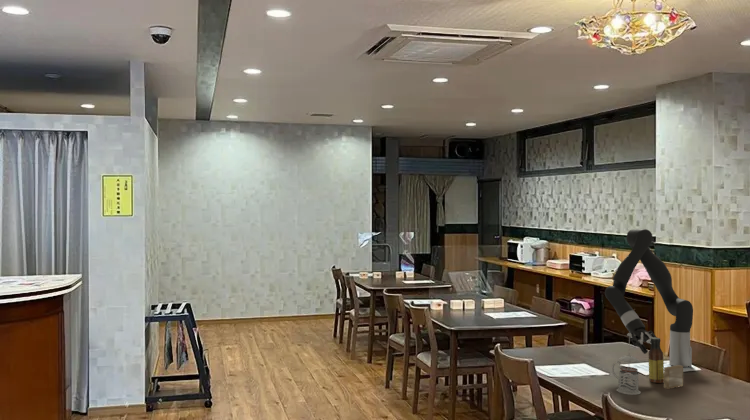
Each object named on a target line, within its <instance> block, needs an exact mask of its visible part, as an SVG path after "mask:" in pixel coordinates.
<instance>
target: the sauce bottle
mask: <svg viewBox="0 0 750 420" xmlns="http://www.w3.org/2000/svg"><path fill="white" fill-rule="evenodd" d="M656 337H657V336H656ZM656 337H653V338H651V344H650V349H649V351H648V379H649V382H651V383H653V384H664V366H665V365H664V352H663V351H662V349H661V338H660V337H657V338H656Z"/></svg>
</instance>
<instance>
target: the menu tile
mask: <svg viewBox="0 0 750 420" xmlns="http://www.w3.org/2000/svg"><path fill="white" fill-rule="evenodd" d="M678 386H681V387H683V386H684V367H683V366H681V365H676V366H673V365H670V366H665V367H664V382H663V388H664V389H666V390H669V389H670V388H671V389H675V388H674V387H676V388H679V387H678Z"/></svg>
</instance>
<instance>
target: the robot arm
mask: <svg viewBox="0 0 750 420" xmlns="http://www.w3.org/2000/svg"><path fill="white" fill-rule="evenodd" d="M653 239H654V238H653V233H652V231H650V230H649V229H646V228H632V229H630V230H628V231H627V233H626V241H627V243H628V244H629V246H630V248H631V251H630V252H629V254H628V255H627V256H626V257H625V258H623V260H622V262H620V264H619V265H618V267H617V269H616V270H615V273H614V275H613V277H612V281H613V283H612V285H609V286H607V287H606V288H605V291H604V295H605V298H606V299H607V300H608V302H609V303H610V305H611V306H612V307H613V308H614V310H615V312H616V313H617V315H618V316H619V318H620V320H621V322H622V323H623V325H624V326H625V328H626V329H627V331H628V333H630V334H632V336H630V342H631V343H632V344H633V346H634V347H638V348H639V349H640V351H641V352H642V353H643V354H644V355H645V354H648V353H649V351H648V349H647V347H646V346H645V345H644V343H645V342H646V343H647V344H650V345H651V338H653V337H656V338H658V337H657V336H656V335H655V333H654V332H653V331H652V330H649V331H647V330H646V326H645V324H644V323H643V321H642V320H641V318H640V317H639V315H638V313H636V311H635V310H634V309H633V307H632V306H631V305H630V303H628V302H627V300H626V299H625V297H624V296H625V293H626V290H627V287H628V286H627V285H628V283H629V281H630V279H631V277H632V274H634V273H633V272H634V270H635V269H636V267H637V265H638V264H639V262H641V265H643V267H644V269H645V271H646V272H647V275H648V277H649V278H650V280H651V281H652V283H653V284H654V286H655V288H656V289H657V291H658V292H659V294H660V297H661V299H662V302H663V303H664V306H665V308H666V311H667V312H668V313H669V314H670V315H671V316H674V317H675V321H674V323H670V325H669V363H668V364H669V365H670V366H676V365H681V366H683V368H689V367H692V366H693V365H692V362H693V361H692V354H693V350H692V349H693V347H692V346H691V328H692V327H693V320H694V319H693V316H694V308H693V304H692V303H691V301H689V300H688V299H683V298H679V296H678V294H677V293H676V291H675V290H674V287H673V282H672V279H673V278H672V274H671V272H670V271H669V268H668V267H667V266H666V264H665V263H664V262H663V260H661V259H660V258H659V256H657V255H656V254H655V253H654V252H653V251H652V250H651V249H650V248H649V247H650V246H651V244H652V242H653ZM688 366H689V367H688Z"/></svg>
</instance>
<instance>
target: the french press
mask: <svg viewBox="0 0 750 420" xmlns="http://www.w3.org/2000/svg"><path fill="white" fill-rule="evenodd" d="M630 336H632V334H630V332H628V333H627V334H626V337H628V351H630V350H631V349H630V347H631V346H630V344H631V343H630V342H631V340H630ZM618 359H619V360H617V361H615V362H614V363H613V365H612V366H611V368H612V370H611V372H612V374H613V376H614V377H615V378H616V379H618V387H617V388H616V392H618V393H619V394H625V395H631V396H632V395H634V396H636V395H639V394H641V393H642V392H641V391H640V389H639V372H638V370H639V369H638V368H637V367H633V366H632V367H631V366H620V365H621V362H625V363H629V364H631V363H639V362H640V359H639V358H637V357H635V356H634V355H630V354H628V355H622V356H621V357H619V358H618ZM617 363H618V365H619V366H620V368H619V369H620V370H619V375H616V373H615V365H616V364H617Z"/></svg>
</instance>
